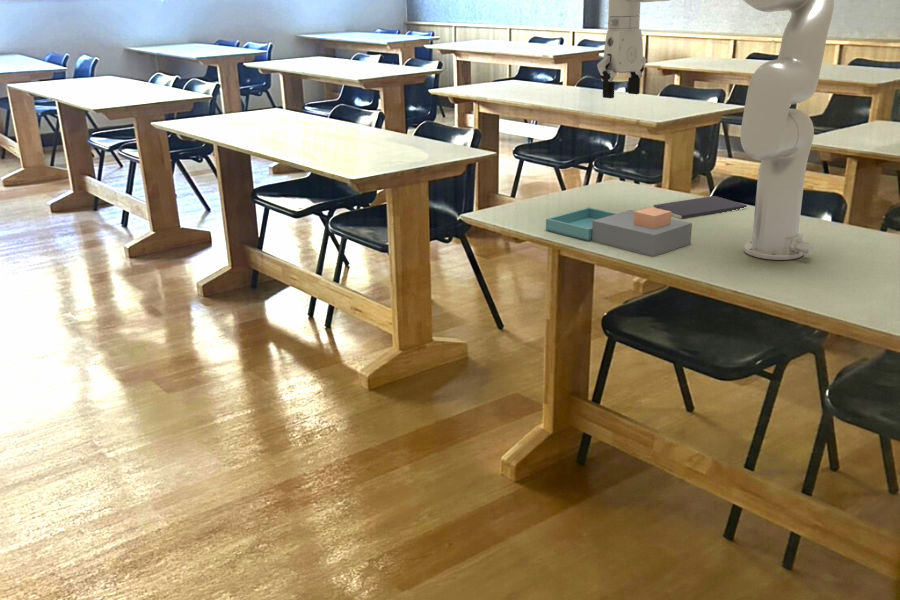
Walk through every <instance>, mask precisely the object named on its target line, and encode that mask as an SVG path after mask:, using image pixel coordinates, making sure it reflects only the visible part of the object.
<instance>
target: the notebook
mask: <svg viewBox="0 0 900 600" xmlns="http://www.w3.org/2000/svg"><path fill="white" fill-rule="evenodd" d="M747 206H748V205H747V204H744V203H741V202H737V201H734V200H731V199H727V198H725V197H724V198H723V197H720V196H717V195H712V196H711V195H710V196H704V197H698V198H697V197H696V198H691V199H685V200H678V201H677V200H676V201H671V202H665V203H664V202H663V203H658V204H653V208H657V209H662V210H667V211H671V217H675V218H677V219H678V218H679V219H681V220H685V219H692V218H697V217H698V218H699V217H705V216H711V215H716V214H717V213H718V214H722V212H724V213H728V212H727V211H730V212H733V211H732V210H736V209H740V208H744V207H747ZM736 211H737V210H736Z"/></svg>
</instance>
